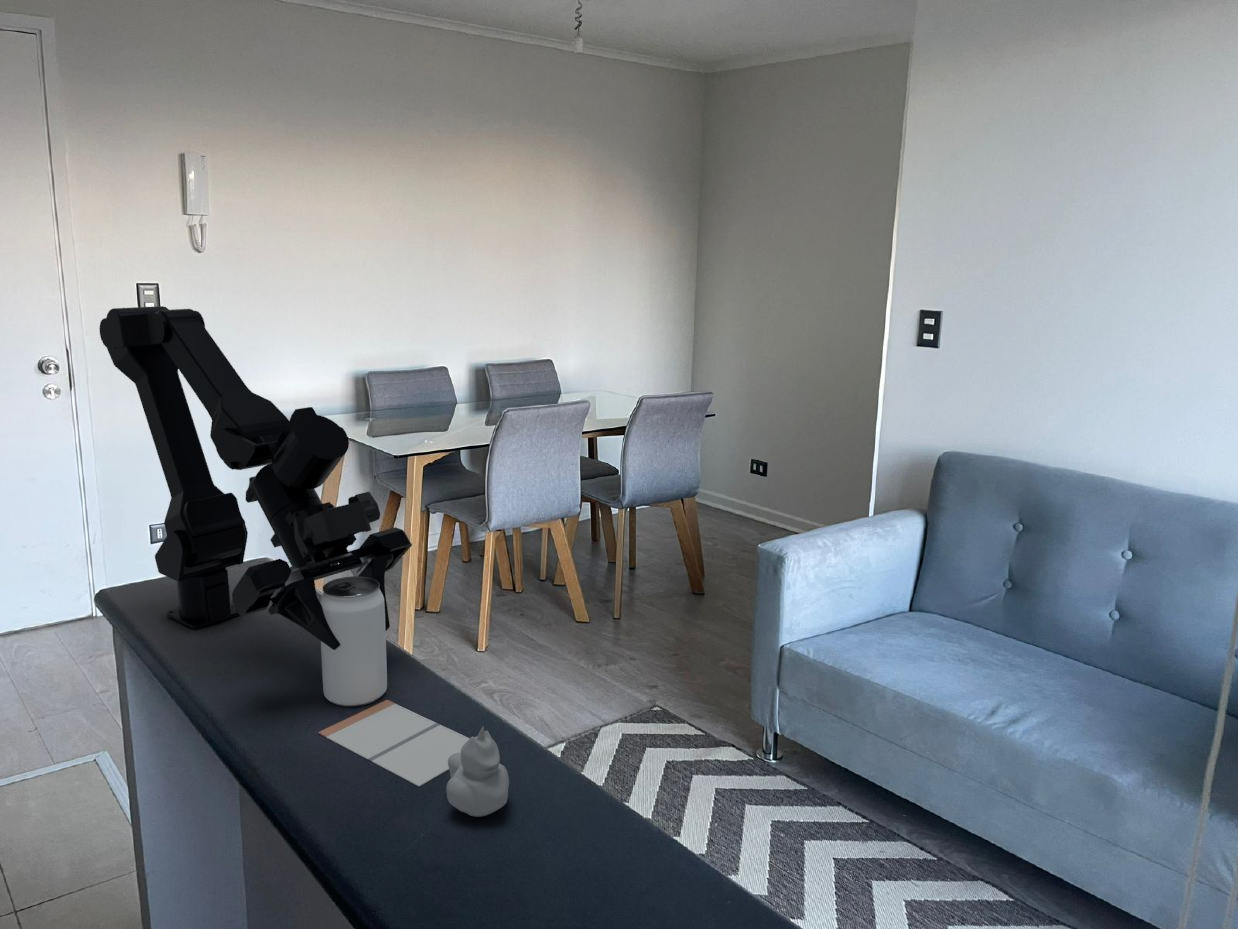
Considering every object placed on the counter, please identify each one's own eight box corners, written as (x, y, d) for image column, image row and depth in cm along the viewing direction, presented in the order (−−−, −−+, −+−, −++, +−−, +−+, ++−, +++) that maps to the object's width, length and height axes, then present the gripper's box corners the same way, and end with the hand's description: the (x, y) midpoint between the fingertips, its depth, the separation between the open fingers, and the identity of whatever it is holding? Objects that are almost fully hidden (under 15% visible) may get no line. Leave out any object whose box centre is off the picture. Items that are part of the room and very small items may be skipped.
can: (349, 715, 96) (344, 603, 93) (310, 694, 100) (304, 587, 97) (400, 691, 101) (397, 585, 98) (361, 673, 105) (357, 570, 102)
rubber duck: (475, 837, 78) (475, 748, 76) (426, 802, 82) (425, 718, 80) (525, 809, 82) (526, 725, 80) (476, 778, 86) (476, 697, 84)
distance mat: (318, 733, 92) (318, 732, 92) (387, 701, 99) (387, 699, 99) (419, 786, 84) (419, 785, 84) (486, 747, 91) (486, 746, 91)
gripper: (239, 488, 90) (312, 630, 86) (399, 456, 104) (468, 576, 100) (203, 548, 97) (269, 682, 93) (357, 510, 111) (421, 625, 107)
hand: (362, 638), depth 98 cm, fingers closed on can, 6 cm apart
